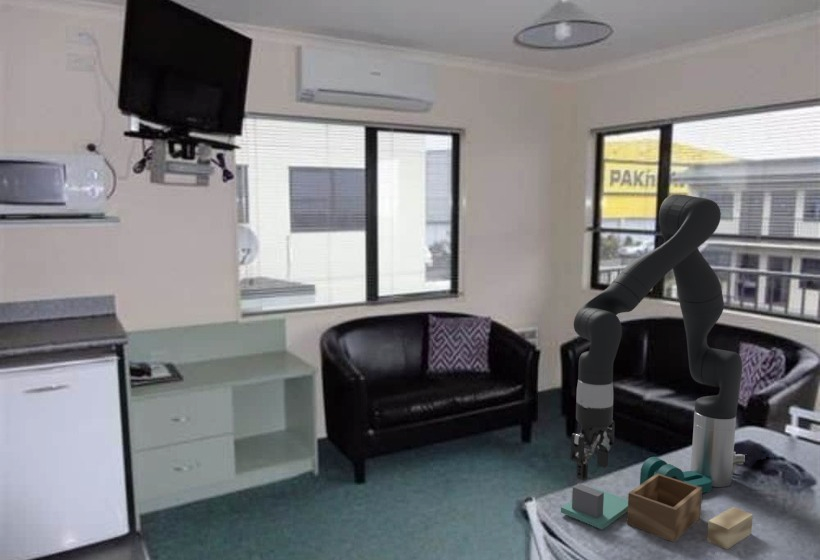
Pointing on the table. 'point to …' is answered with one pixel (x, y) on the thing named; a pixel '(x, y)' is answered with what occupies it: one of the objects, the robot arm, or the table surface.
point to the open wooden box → (664, 506)
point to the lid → (595, 506)
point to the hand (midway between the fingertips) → (592, 472)
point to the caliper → (737, 460)
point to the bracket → (673, 473)
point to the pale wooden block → (729, 527)
